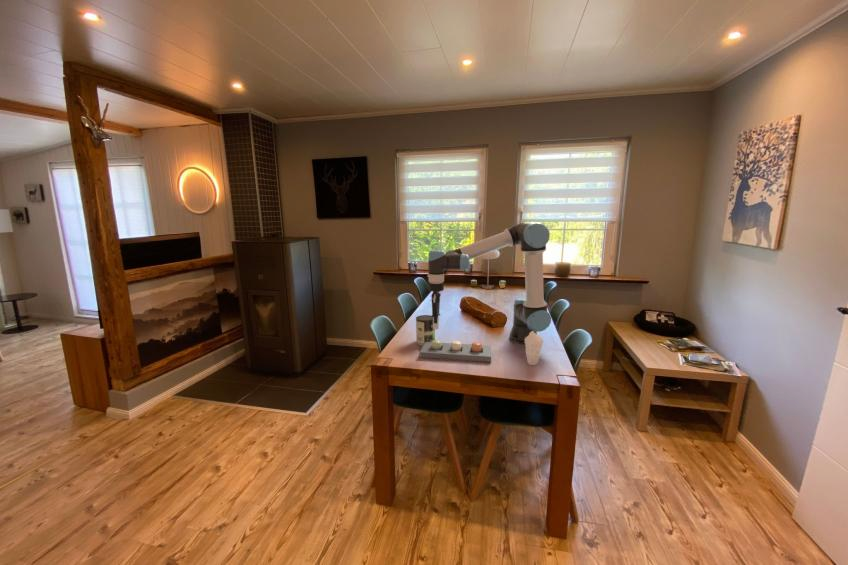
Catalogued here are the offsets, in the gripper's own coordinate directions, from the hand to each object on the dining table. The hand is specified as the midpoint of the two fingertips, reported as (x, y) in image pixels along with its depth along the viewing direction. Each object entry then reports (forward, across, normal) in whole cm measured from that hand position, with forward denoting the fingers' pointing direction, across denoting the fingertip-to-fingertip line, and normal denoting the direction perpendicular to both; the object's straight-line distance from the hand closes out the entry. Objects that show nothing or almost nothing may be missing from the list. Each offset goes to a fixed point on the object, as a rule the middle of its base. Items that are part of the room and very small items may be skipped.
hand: (435, 328), depth 171 cm
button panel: (+13, 0, +10) cm, 17 cm away
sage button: (+11, 0, 0) cm, 11 cm away
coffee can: (+13, -14, -8) cm, 21 cm away
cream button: (+11, 0, +10) cm, 15 cm away
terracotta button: (+11, 0, +20) cm, 23 cm away
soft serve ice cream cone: (+13, +5, +46) cm, 48 cm away
